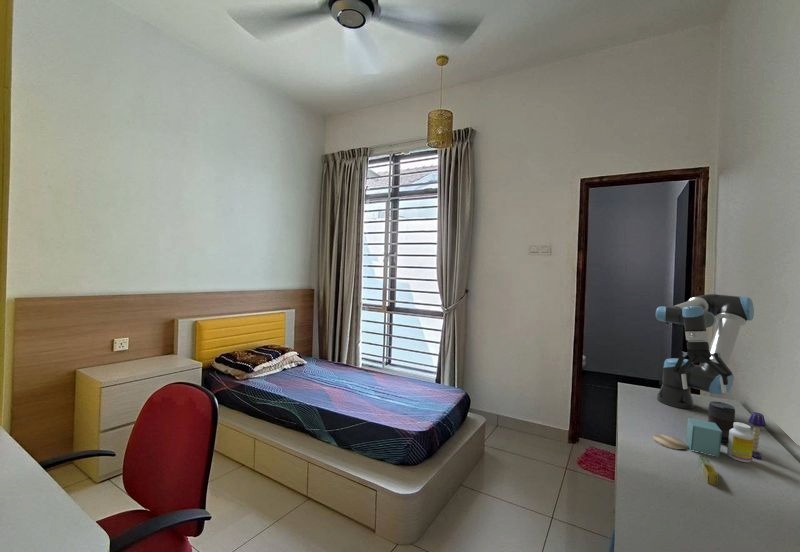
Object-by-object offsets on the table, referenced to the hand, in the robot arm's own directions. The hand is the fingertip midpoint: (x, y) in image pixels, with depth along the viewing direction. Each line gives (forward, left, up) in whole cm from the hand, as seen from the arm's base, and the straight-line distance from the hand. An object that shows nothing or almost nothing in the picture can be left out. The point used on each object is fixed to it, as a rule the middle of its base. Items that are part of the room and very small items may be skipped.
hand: (704, 390), depth 156 cm
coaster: (+26, -4, -17) cm, 32 cm away
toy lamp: (+10, +18, -18) cm, 27 cm away
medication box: (+43, +11, -18) cm, 48 cm away
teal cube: (+21, +5, -17) cm, 28 cm away
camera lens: (+5, +7, -18) cm, 20 cm away
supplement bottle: (+17, +15, -18) cm, 29 cm away
